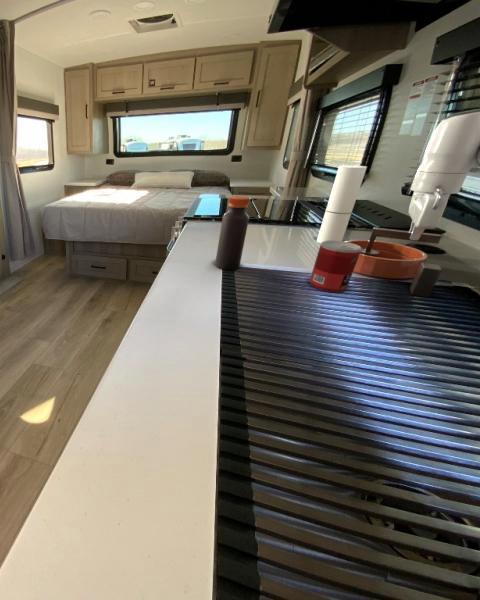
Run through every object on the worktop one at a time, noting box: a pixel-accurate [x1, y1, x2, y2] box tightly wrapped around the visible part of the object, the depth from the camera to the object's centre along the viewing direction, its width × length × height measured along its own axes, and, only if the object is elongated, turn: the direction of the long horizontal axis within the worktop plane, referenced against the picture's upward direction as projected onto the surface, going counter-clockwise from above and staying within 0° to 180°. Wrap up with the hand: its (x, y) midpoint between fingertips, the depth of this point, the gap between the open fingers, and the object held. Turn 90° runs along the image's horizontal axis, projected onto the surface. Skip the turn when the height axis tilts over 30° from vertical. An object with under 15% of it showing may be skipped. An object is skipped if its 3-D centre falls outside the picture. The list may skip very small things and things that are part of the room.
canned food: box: [309, 240, 361, 293], centre depth 82 cm, size 8×8×11 cm
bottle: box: [214, 196, 250, 271], centre depth 95 cm, size 7×7×20 cm
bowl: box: [344, 239, 428, 280], centre depth 94 cm, size 19×19×6 cm
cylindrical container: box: [316, 165, 368, 244], centre depth 111 cm, size 7×7×25 cm
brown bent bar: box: [360, 227, 443, 257], centre depth 92 cm, size 16×5×9 cm, turn 53°
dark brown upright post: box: [409, 262, 442, 298], centre depth 78 cm, size 3×4×7 cm
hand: (412, 238), depth 89 cm, fingers closed on brown bent bar
